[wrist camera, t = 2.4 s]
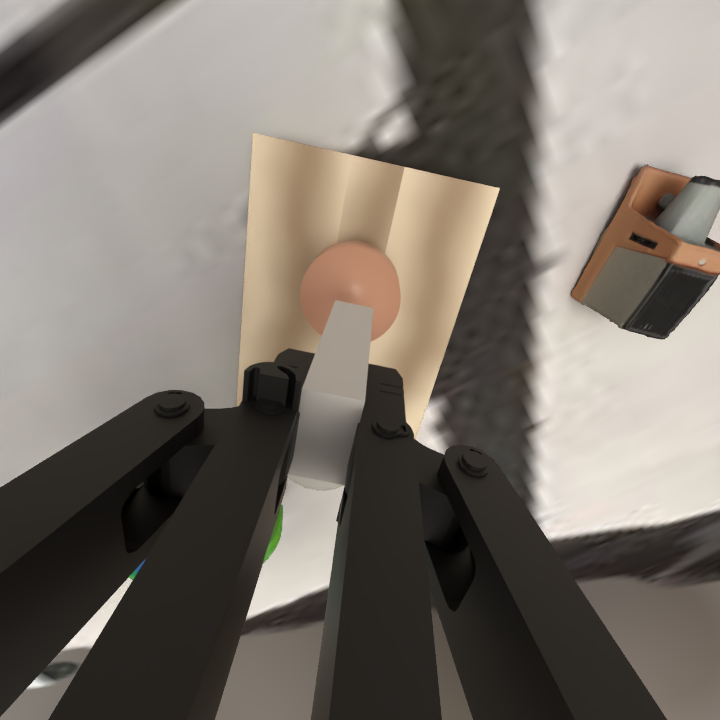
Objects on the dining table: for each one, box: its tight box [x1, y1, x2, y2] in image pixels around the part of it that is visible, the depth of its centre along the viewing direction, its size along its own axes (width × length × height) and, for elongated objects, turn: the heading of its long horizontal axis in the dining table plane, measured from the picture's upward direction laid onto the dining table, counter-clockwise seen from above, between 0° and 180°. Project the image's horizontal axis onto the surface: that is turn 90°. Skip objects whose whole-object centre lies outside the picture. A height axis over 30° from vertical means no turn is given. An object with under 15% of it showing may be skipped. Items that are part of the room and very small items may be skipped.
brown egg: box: [300, 241, 401, 342], centre depth 23 cm, size 5×5×6 cm
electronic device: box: [571, 165, 720, 339], centre depth 25 cm, size 4×10×8 cm, turn 167°
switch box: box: [236, 133, 500, 440], centre depth 29 cm, size 14×24×6 cm, turn 169°
